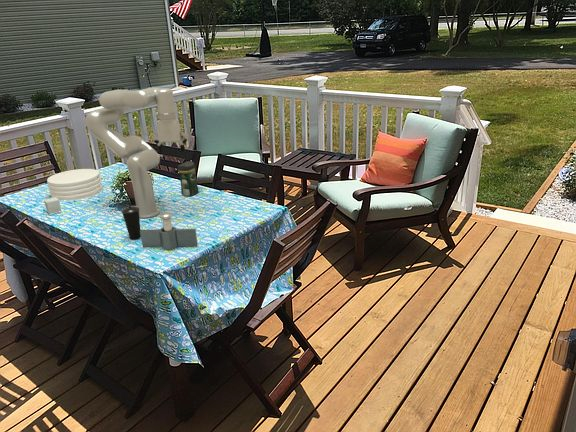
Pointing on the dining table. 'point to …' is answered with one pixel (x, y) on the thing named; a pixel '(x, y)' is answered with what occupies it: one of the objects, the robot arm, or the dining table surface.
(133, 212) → the drinking cup
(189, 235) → the hinge
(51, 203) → the product box
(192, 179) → the coffee jar
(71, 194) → the plate stack
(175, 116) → the robot arm
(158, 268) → the dining table surface
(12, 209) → the dining table surface
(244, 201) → the dining table surface
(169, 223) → the hinge pin
